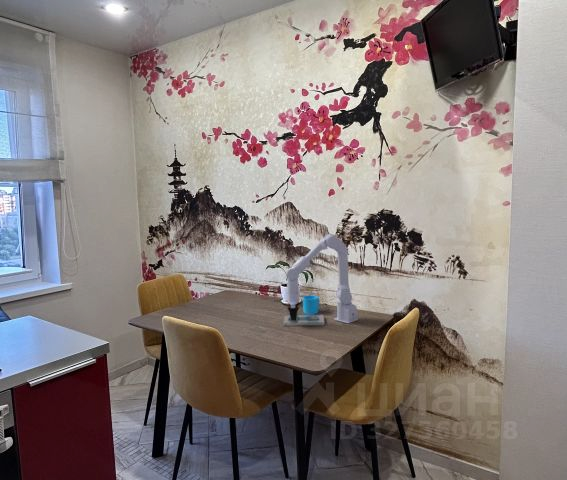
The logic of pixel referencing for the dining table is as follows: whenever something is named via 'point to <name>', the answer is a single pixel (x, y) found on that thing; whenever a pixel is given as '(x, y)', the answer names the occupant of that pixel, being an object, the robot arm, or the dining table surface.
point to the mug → (310, 304)
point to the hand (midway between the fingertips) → (293, 317)
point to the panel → (305, 320)
